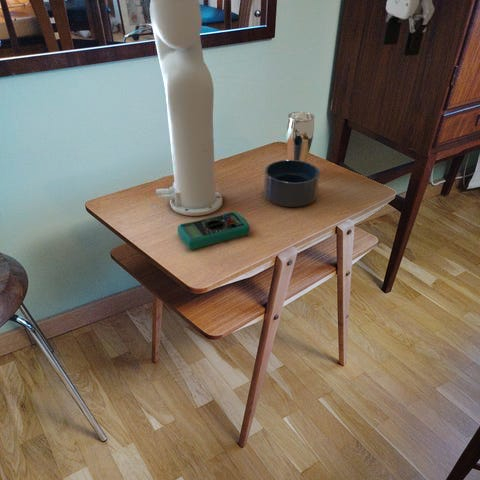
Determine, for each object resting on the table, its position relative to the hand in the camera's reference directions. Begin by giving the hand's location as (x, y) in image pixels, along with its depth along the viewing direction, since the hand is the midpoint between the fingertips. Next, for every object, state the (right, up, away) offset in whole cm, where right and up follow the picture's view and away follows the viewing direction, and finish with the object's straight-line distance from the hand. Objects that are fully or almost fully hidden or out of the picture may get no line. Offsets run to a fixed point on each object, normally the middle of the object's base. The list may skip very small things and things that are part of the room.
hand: (399, 49), depth 94 cm
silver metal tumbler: (-18, -17, +27) cm, 37 cm away
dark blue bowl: (-21, -26, +18) cm, 38 cm away
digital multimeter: (-39, -39, +4) cm, 55 cm away
